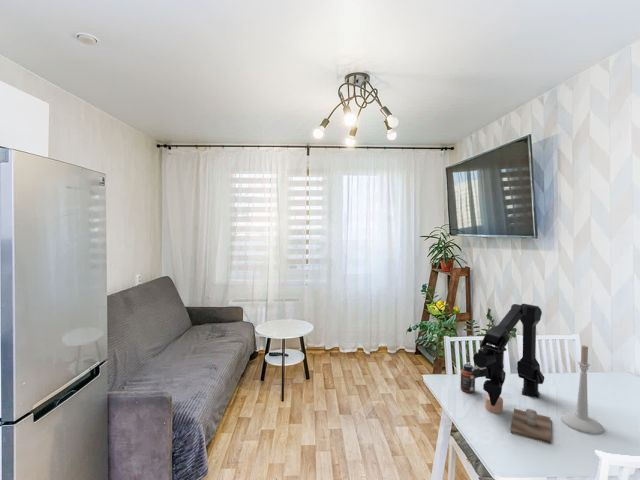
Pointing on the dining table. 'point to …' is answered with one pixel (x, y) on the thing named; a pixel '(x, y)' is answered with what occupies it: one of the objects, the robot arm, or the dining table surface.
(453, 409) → the dining table surface
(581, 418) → the candlestick
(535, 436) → the post board
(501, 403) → the cap
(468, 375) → the supplement bottle
